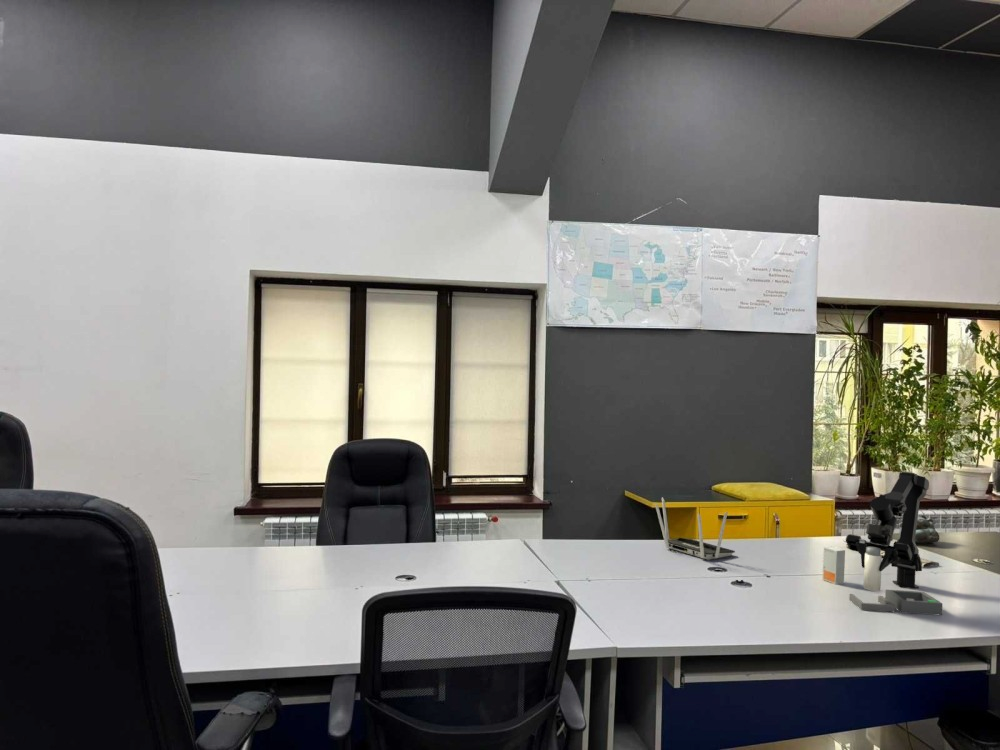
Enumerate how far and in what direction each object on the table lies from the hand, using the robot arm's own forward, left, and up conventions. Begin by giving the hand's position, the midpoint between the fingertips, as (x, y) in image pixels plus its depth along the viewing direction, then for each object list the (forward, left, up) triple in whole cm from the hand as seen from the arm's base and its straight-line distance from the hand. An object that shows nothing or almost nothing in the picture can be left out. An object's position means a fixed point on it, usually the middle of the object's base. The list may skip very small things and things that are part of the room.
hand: (871, 568), depth 230 cm
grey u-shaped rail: (-1, +1, -12) cm, 12 cm away
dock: (-2, +14, -12) cm, 19 cm away
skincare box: (-27, -2, -12) cm, 30 cm away
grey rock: (-101, +59, -12) cm, 118 cm away
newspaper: (-72, +34, -13) cm, 81 cm away
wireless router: (-58, -46, -12) cm, 75 cm away
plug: (-1, +1, -7) cm, 7 cm away
